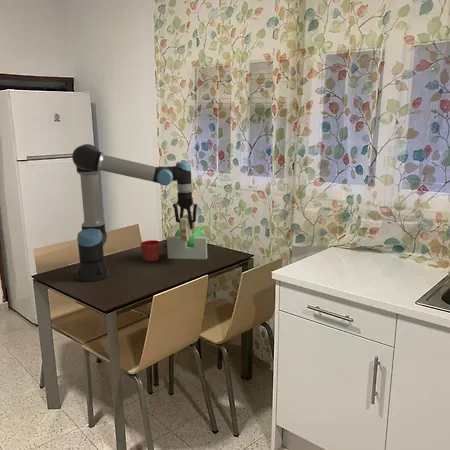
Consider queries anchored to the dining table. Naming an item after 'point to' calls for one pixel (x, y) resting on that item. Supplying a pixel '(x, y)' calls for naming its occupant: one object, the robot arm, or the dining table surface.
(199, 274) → the dining table surface
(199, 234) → the green rounded piece
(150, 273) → the dining table surface
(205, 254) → the sage slotted rail
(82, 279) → the robot arm
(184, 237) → the birch slotted plate
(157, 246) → the flower pot
